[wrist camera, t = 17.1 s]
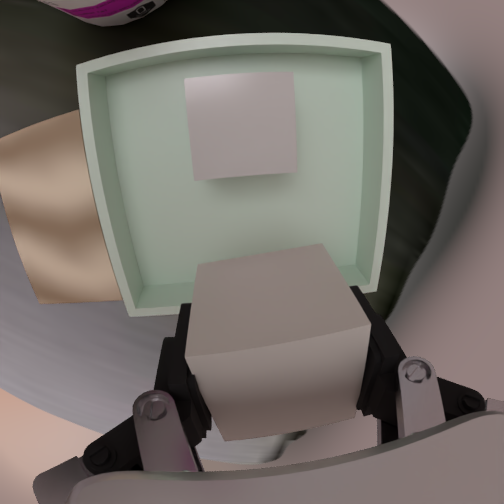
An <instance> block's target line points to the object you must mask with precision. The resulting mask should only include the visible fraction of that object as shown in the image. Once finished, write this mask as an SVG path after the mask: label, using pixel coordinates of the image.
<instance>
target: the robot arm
mask: <svg viewBox="0 0 504 504" xmlns="http://www.w3.org/2000/svg"><path fill="white" fill-rule="evenodd" d="M349 287H350V289H351V291H352V292H353V294H354V296H355V297H356V299H357V301H358V302H359V304H360V306H361V307H362V309H363V311H364V313H365V314H366V316H367V318H368V319H369V321H370V323H371V330H370V337H369V344H368V351H367V357H366V363H365V369H364V375H363V380H362V386H361V391H360V395H359V398H358V401H357V404H356V408H357V410H362V413H363V416H367V415H370V414H372V415H373V417H375V418H377V446H375V447H372V448H368V449H364V450H360V451H357V452H353V453H349V454H344V455H341V456H336V457H332V458H326V459H321V460H316V461H311V462H305V463H300V464H292V465H286V466H279V467H270V468H261V469H250V470H236V471H217V472H216V471H215V472H205V471H204V468H203V466H202V463H201V460H200V457H199V455H198V452H197V449H196V445H198V444H199V443H200V442H201V441H202V438H206V430H211V417H212V415H211V413H210V411H209V409H208V407H207V405H206V403H205V401H204V399H203V397H202V395H201V392H200V390H199V387H198V384H197V381H196V378H195V374H192V373H191V371H190V368H189V366H188V364H187V361H186V359H185V351H186V342H187V334H188V327H189V319H190V312H191V305H192V303H182V304H181V306H180V312H179V317H178V323H177V328H176V334H175V337H165V338H164V340H163V344H162V349H161V354H160V359H159V364H158V369H157V375H156V380H155V385H154V390H151V391H147V392H145V393H143V394H141V395H140V396H139V397H138V398H137V399H136V400H135V402H134V404H133V415H132V416H131V417H130V418H128V419H127V420H125V421H124V422H122V423H121V424H119V425H118V426H116V427H115V428H113V429H112V430H110V431H109V432H107V433H106V434H104V435H103V436H101V437H100V438H98V439H97V440H95V441H94V442H92V443H91V444H90V445H88V446H87V448H86V449H85V451H84V455H83V456H82V457H80V458H78V457H77V456H75V457H73V458H71V459H69V460H68V461H65V462H63V463H61V464H60V465H58V466H55V467H53V468H51V469H49V470H47V471H45V472H43V473H41V474H39V475H38V476H37V477H36V478H35V480H34V482H33V490H34V493H35V496H36V498H37V501H38V503H39V504H504V401H499V400H495V399H491V398H487V400H484V398H483V397H482V395H481V394H480V393H479V392H477V391H475V390H473V389H470V388H468V387H465V386H462V385H459V384H456V383H453V382H450V381H447V380H445V379H442V378H439V377H436V372H435V369H434V367H433V365H432V364H431V363H430V362H429V361H427V360H426V359H424V358H421V357H415V356H413V357H408V358H407V357H406V356H405V354H404V352H403V350H402V349H401V347H400V346H399V344H398V342H397V341H396V339H395V337H394V336H393V334H392V332H391V331H390V329H389V327H388V326H387V325H386V323H385V321H384V319H383V318H382V317H381V315H379V314H375V312H374V310H373V309H372V307H371V306H370V304H369V302H368V301H367V299H366V298H365V296H364V294H363V293H362V291H361V290H360V288H359V287H358V286H357V285H355V286H349Z"/></svg>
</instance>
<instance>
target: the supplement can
mask: <svg viewBox="0 0 504 504" xmlns="http://www.w3.org/2000/svg"><path fill="white" fill-rule="evenodd" d="M38 1H41V2H43V3H45V4H48V5H50V6H52V7H55V8H57V9H59V10H61V11H63V12H66V13H68V14H70V15H72V16H74V17H76V18H78V19H80V20H82V21H84V22H87V23H91V24H94V25H98V26H102V27H103V26H114V25H123V24H126V23H129V22H131V21H134V20H137V19H140V18H143V17H144V16H146V15H147V14H149V13H151V12H152V11H154V10H155V9H157V8H158V7H160V6H162V5H163V4H164V3H165V2H166V1H167V0H38Z"/></svg>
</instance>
